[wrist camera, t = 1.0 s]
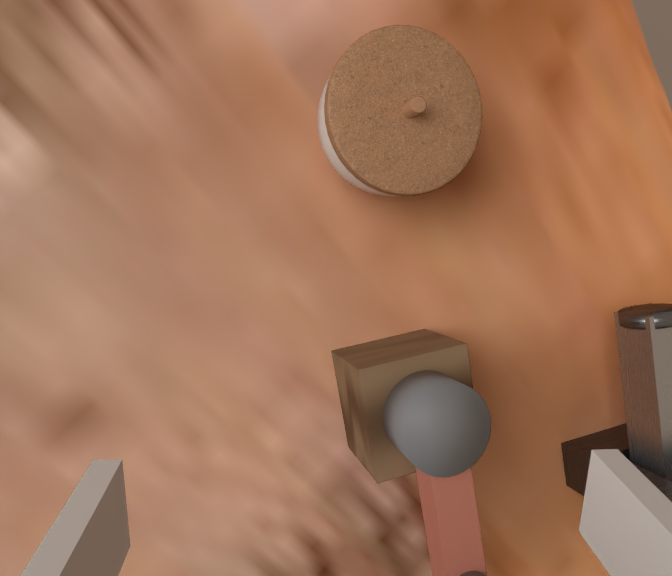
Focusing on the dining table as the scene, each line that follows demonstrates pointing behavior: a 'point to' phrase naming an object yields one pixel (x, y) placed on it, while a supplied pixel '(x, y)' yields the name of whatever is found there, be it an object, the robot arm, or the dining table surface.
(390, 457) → the tan square block
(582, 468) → the dark boxy piece
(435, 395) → the ball ended rod
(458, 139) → the lidded jar
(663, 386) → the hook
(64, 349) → the dining table surface
